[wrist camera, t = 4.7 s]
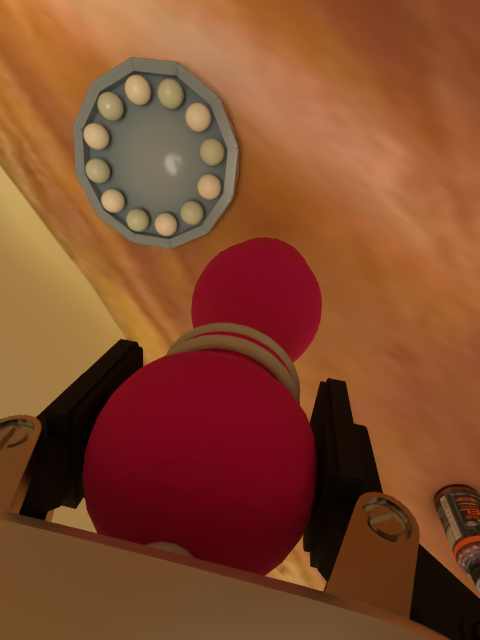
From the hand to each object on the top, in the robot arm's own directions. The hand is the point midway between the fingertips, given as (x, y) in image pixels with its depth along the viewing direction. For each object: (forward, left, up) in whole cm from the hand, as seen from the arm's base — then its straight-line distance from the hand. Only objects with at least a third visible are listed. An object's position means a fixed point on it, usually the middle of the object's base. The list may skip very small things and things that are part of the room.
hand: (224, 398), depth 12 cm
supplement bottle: (+31, +30, -30) cm, 53 cm away
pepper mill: (0, 0, -13) cm, 13 cm away
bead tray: (-6, -14, -29) cm, 33 cm away
